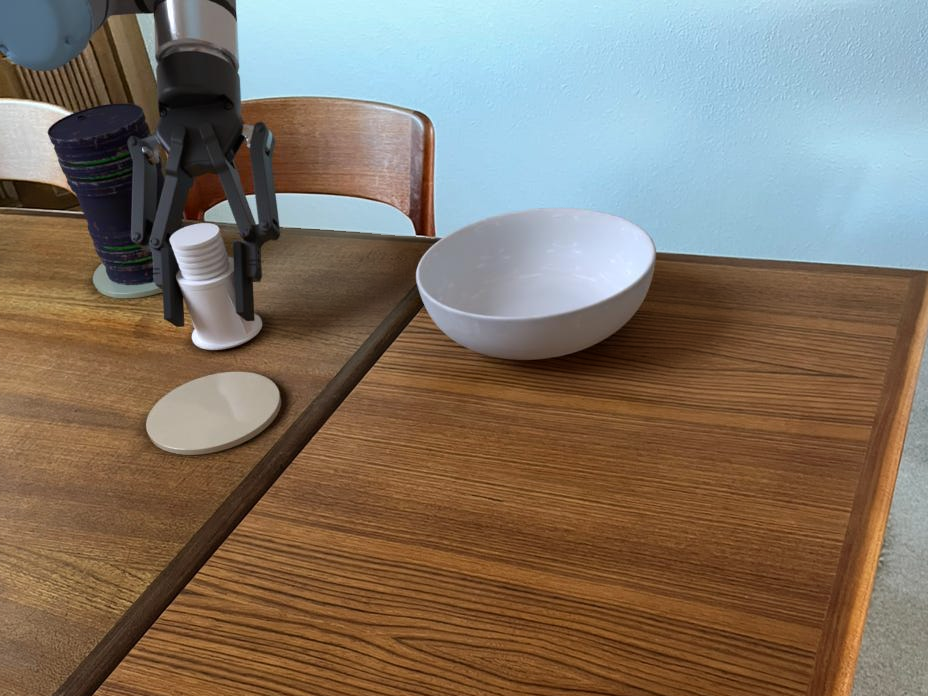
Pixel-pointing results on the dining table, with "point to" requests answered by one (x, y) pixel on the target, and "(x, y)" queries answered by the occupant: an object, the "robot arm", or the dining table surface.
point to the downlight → (210, 288)
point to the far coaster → (121, 286)
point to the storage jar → (107, 182)
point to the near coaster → (213, 413)
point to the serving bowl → (537, 281)
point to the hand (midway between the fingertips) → (209, 319)
